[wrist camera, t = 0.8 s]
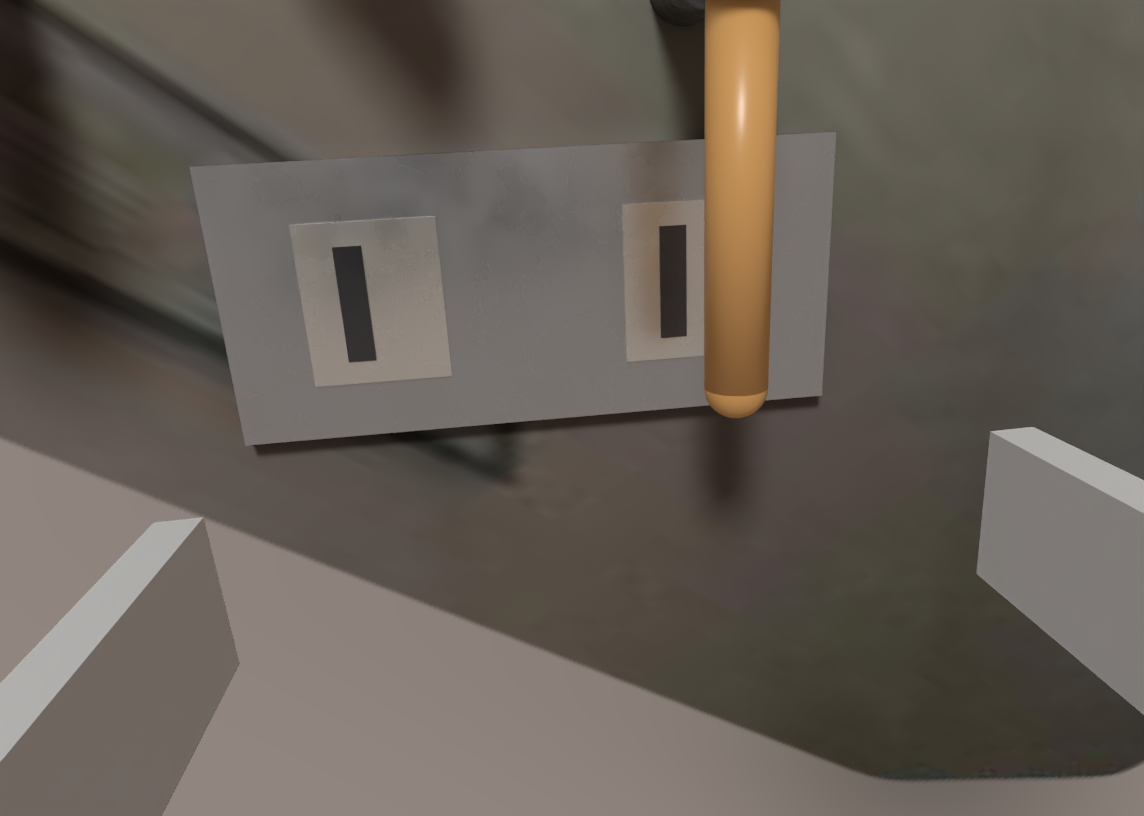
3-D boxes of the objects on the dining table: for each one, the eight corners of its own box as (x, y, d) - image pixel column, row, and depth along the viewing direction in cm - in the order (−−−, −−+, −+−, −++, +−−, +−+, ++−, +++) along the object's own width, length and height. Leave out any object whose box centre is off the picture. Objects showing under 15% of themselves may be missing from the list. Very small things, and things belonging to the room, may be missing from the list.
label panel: (196, 166, 31) (187, 167, 31) (828, 132, 34) (838, 131, 33) (250, 439, 35) (244, 447, 34) (815, 390, 38) (823, 396, 37)
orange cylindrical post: (674, -111, 25) (703, -150, 22) (780, -113, 26) (823, -152, 22) (678, 407, 31) (701, 435, 28) (764, 399, 31) (797, 427, 28)
